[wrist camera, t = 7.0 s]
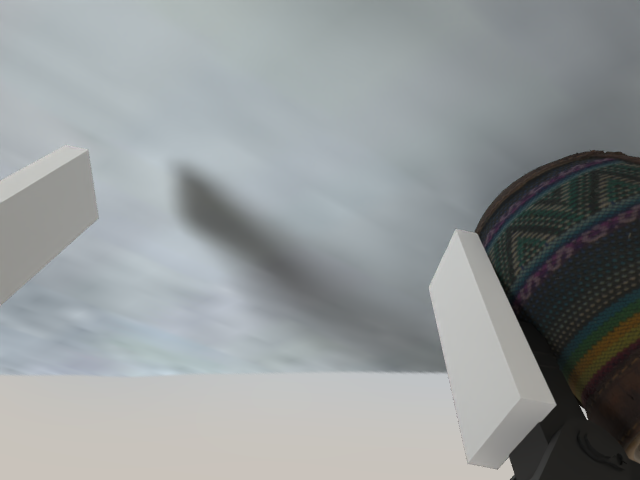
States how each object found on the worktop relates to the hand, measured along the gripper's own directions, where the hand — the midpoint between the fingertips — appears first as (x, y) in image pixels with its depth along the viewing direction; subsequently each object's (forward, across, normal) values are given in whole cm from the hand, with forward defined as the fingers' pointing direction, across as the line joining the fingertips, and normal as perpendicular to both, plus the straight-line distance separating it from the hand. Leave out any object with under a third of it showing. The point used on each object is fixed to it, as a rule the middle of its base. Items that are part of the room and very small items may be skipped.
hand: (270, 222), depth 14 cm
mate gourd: (+2, +10, +2) cm, 10 cm away
